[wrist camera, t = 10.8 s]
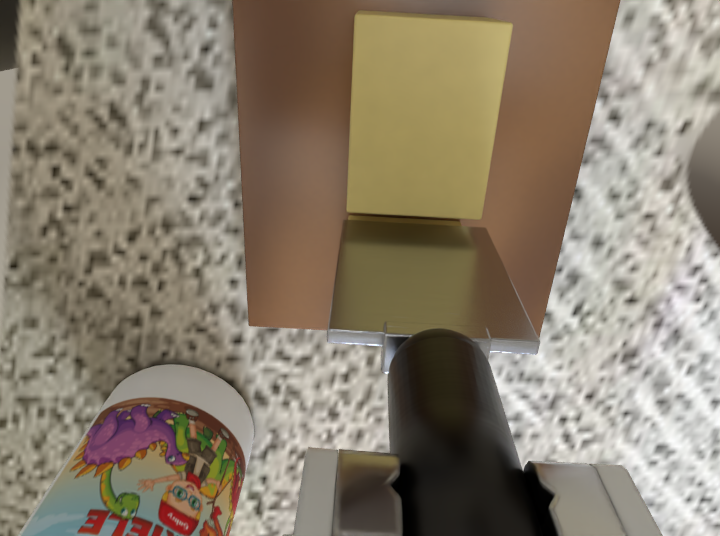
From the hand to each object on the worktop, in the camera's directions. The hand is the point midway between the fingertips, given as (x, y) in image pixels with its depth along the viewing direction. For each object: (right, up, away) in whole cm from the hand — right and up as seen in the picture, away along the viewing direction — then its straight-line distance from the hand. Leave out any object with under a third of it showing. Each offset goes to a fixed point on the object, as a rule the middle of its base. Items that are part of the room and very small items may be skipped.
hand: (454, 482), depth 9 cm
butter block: (0, +9, +11) cm, 14 cm away
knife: (0, +5, +10) cm, 11 cm away
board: (0, +9, +12) cm, 16 cm away
